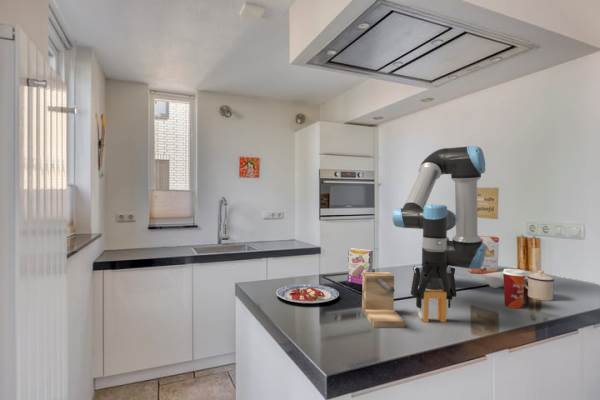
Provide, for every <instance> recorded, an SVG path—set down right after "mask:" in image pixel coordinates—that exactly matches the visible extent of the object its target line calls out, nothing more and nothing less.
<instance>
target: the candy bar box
mask: <svg viewBox="0 0 600 400" xmlns="http://www.w3.org/2000/svg"><path fill="white" fill-rule="evenodd" d="M347 251H348V255H347V256H348V258H347V283H351V284H357V285H361V286H362V284H363V272H373V269H374V268H373V267H374V264H373V263H374V250H371V249H365V248H364V249H362V248H356V247H351V248H349V249H347Z"/></svg>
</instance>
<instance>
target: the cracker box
mask: <svg viewBox="0 0 600 400" xmlns="http://www.w3.org/2000/svg"><path fill="white" fill-rule="evenodd" d="M478 236H479V237H480V238H481V242H482V243H484V244H485V245H486V252H485V258H484V262H483V265H482V267H481V268H480V269H469V268H467V270H468V272H469V273H471V274H481V275H482V274H488V273H495V272H499V271H498V269H499V250H500V249H499V245H500V243H499V242H500V240H499V239H500V238H499V237H498V236H495V235H493V236H491V235H490V236H489V235H478Z"/></svg>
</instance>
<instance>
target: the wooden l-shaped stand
mask: <svg viewBox="0 0 600 400" xmlns="http://www.w3.org/2000/svg"><path fill="white" fill-rule="evenodd" d="M361 286H362V289H361V291H362V293H361V294H362V295H361V298H362V299H361V311H362V313H363V314H364V316H365V317H366V318H367V320H368V321H369V323H370V324H371V326H372V327H373V328H375V329H376V328H378V329H379V328H383V329H384V328H388V329H390V328H392V329H393V328H397V329H398V328H399V329H400V328H404V329H405V328H406V324H405V322H406V321H405V320H404V319H403V317H401V316H400V314H399V313H398V312H396V311H395V310H394V301H395V300H394V299H395V298H394V295H395V292H396V291H395V275H394V274H393V273H391V272H386V271H385V272H384V271H383V272H377V271H375V272H363V284H362V285H361Z"/></svg>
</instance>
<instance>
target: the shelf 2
mask: <svg viewBox="0 0 600 400" xmlns="http://www.w3.org/2000/svg"><path fill="white" fill-rule="evenodd" d="M516 269H517V270H522V271H524V272H525V274H526V276H525V278H528V275H529V274H534V273H536V271H534V272H533V271H530V270H523V269H518V268H516ZM503 271H504V270H502V271H498V272H495V273H488V274H482V273H481V278H482V279H484V280H485V282H486V283H488V286H489V287H490V288H494V289H498V288H502V287H503V288H504V277H503V273H502V272H503ZM526 283H528V279H527V280H526Z"/></svg>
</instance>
